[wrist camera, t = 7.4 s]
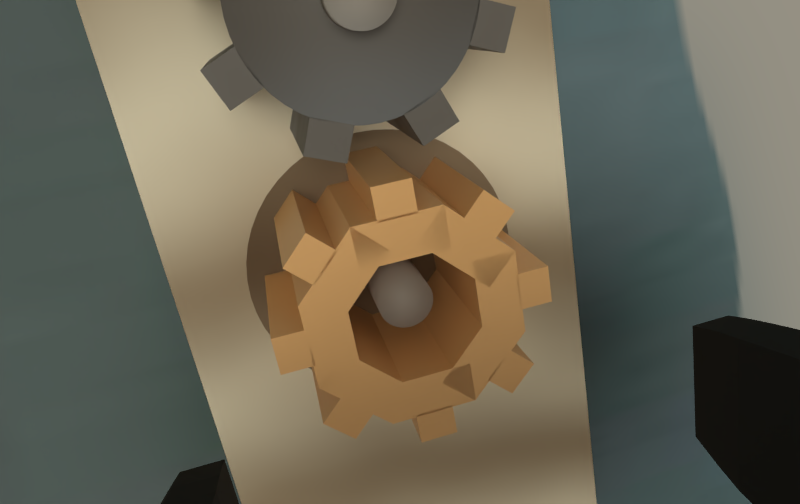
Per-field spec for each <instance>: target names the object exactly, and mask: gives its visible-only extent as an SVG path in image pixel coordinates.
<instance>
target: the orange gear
mask: <svg viewBox="0 0 800 504" xmlns="http://www.w3.org/2000/svg"><path fill="white" fill-rule="evenodd" d="M345 165H346V170H347V174H348V179H349V181H345V182H341V183H336V184H332V185H328V186H327V187H326V189H325V190H324V192H323V193H322V195H321V196H320V198H319V200H318V201H317V203H314V202H312V201H310V200H309V199H307V198H305V197H304V196H302V195H300V194H299V193H297V192H295V191H294V190H291V192H290V193H289V195H288V197H287V198H286V200H285V201H284V203H283V204H282V206H281V208H280V209H279V211H278V212H277V214H276V215H275V217H274V222H275V228H276V234H277V239H278V245H279V251H280V257H281V263H282V268H283V269H284V270H286V271H282V272H278V273H274V274H270V275H266V276H265V286H266V296H267V306H268V317H269V327H270V337H271V342H272V346H273V349H274V353H275V356H276V360H277V364H278V367H279V371H280V374H281V375H283V374H287V373H290V372H294V371H298V370H301V369H305V368H309V367H312V372H313V377H314V382H315V386H316V391H317V396H318V401H319V406H320V411H321V415H322V420H323V424H325V425H327V426H329V427H331V428H333V429H335V430H338V431H340V432H342V433H344V434H346V435H348V436H351V437H353V438H355V439H356V438H357V437H358V435H359V434H360V432H361V431H362V429H363V428H364V427H365V425H366V424H367V422H368V421H369V419H370V418H371V417H372V415H375V416H378V417H380V418H382V419H384V420H386V421H388V422H390V423H392V424H395V423H398V422H402V421H405V420H409V419H412V421H413V424H414V426H415V428H416V431H417V433H418V435H419V437H420V440H421V442H426V441H429V440H432V439H436V438H439V437H443V436H446V435H449V434H453V433H456V432H457V427H456V422H455V416H454V411H453V406H457V405H460V404H464V403H467V402H471V401H474V400H476V399H477V398H478V396H479V395H480V393H481V392H482V391H483V389H484V388H485V386H486V385H487V384H488V382H489V381H490V382H492V383H494V384H496V385H498V386H499V387H501V388H503V389H505V390H507V391H509V392H510V393H513V392H514V391H515V389H516V388H517V386H518V385H519V384H520V382H521V381H522V380H523V378H524V377H525V375H526V374H527V373H528V371H529V370H530V369H531V367H532V366H533V365H534V363H533V362H532V361H531V360H530V359H529V357H528V356H527V355H526V354H525V353H524V352H523V351H522V349H521V348H520V347H519V346H518V345H517V342H518V341H519V339H520V338H521V337H522V335H523V334H524V332H525V324H524V316H523V309H526V308H529V307H533V306H537V305H541V304H544V303H548V302H552V297H551V288H550V279H549V270H548V266H547V265H546V264H545V263H543V262H542V261H541V260H540V259H538V258H537V257H536V256H534V255H533V254H532V253H531V252H529V251H528V250H527V249H526V248H524V247H523V246H522V245H520V244H519V243H518V242H517V241H515V240H514V239H513V238H512V237H510V236H509V235H508V234H506V233H505V232H504V231H503V230H502V229H503V227H504V226H505V224H506V223H507V221H508V220H509V219H510V217H511V216H512V214H513V213H514V211H515V210H513V209H512V208H510V207H509V206H507V205H506V204H504V203H503V202H501V201H500V200H498V199H497V198H495V197H494V196H492V195H491V194H490V193H488V192H487V191H485V190H484V189H482V188H481V187H479V186H478V185H476V184H475V183H473V182H472V181H470V180H469V179H467V178H466V177H464V176H463V175H461V174H460V173H459V172H457V171H456V170H454V169H453V168H451V167H450V166H448V165H447V164H445V163H444V162H442V161H441V160H439V159H438V158H436V157H434V158H433V160H432V161H431V163H430V164H429V166H428V167H427V169H426V170H425V172H424V173H423V175H422V176H421V178H420V179H418V178H417V177H415V176H414V175H412V174H411V173H409V172H408V171H406V170H405V169H403V168H400V167H399V166H398V165H397V164H396V163H395V162H394V161H393V160H392V159H390V158H389V157H388V156H387V155H386V154H385V153H384V152H383V151H381V150H380V149H379V148H378V147H377V146H375V147H370V148H366V149H361V150H357V151H353V152H349V158H348V163H347V164H346V163H345ZM430 253H433V254H434V259H435V265H436V270H435V272H434V273H433V275H432V276H431V278H430V279H429V280H428V282H427V283H428V285H429V286H430V288H431V290H432V293H433V305H432V308H431V311H430V312H429V314H428V315H427V317H426V318H425V319H424V320H423V321H421V322H420V323H418V324H417V325H414V326H411V327H406V328H400V327H395V326H393V325H391V324H389V323H387V322H386V321H385V320H384V319H383V317H382V316H381V314H380V312H379V313H375V314H370V313H368V312H367V311H365V310H363V309H361V308H359V307H357V306H356V305H354V303H355V301H356V300H357V298H358V297H359V295H360V294H361V292H362V291H363V289H364V288H365V286H366V285H367V283H368V282H369V280H370V279H371V277H372V276H373V274H374V273H375V271H376V270H377V268H378V267H379V266H383V265H387V264H391V263H395V262H399V261H403V260H407V259H411V258H415V257H419V256H423V255H426V254H430Z"/></svg>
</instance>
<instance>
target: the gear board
mask: <svg viewBox="0 0 800 504" xmlns="http://www.w3.org/2000/svg"><path fill="white" fill-rule="evenodd" d="M76 3H77V6H78V9H79V12H80V15H81V18H82V21H83V24H84V27H85V30H86V33H87V36H88V39H89V42H90V45H91V48H92V51H93V54H94V57H95V60H96V63H97V66H98V69H99V72H100V75H101V79H102V82H103V85H104V88H105V91H106V94H107V97H108V100H109V103H110V106H111V109H112V112H113V115H114V118H115V121H116V124H117V127H118V130H119V133H120V136H121V139H122V142H123V145H124V148H125V151H126V154H127V157H128V160H129V163H130V166H131V169H132V173H133V176H134V179H135V182H136V185H137V188H138V191H139V194H140V197H141V200H142V203H143V206H144V209H145V212H146V215H147V218H148V221H149V224H150V227H151V230H152V233H153V236H154V239H155V242H156V245H157V248H158V251H159V254H160V257H161V260H162V263H163V266H164V270H165V273H166V276H167V279H168V282H169V285H170V288H171V291H172V294H173V297H174V300H175V303H176V306H177V309H178V312H179V315H180V318H181V321H182V324H183V327H184V330H185V333H186V336H187V339H188V342H189V345H190V348H191V351H192V354H193V357H194V360H195V364H196V367H197V370H198V373H199V376H200V379H201V382H202V385H203V388H204V391H205V394H206V397H207V400H208V403H209V406H210V409H211V412H212V415H213V418H214V421H215V424H216V427H217V430H218V433H219V436H220V439H221V442H222V445H223V448H224V451H225V454H226V457H227V461H228V464H229V467H230V470H231V473H232V476H233V479H234V482H235V485H236V488H237V491H238V494H239V497H240V500H241V503H242V504H597V502H596V492H595V481H594V470H593V460H592V449H591V438H590V428H589V417H588V407H587V396H586V385H585V375H584V364H583V354H582V343H581V332H580V322H579V311H578V300H577V290H576V279H575V269H574V258H573V247H572V237H571V226H570V215H569V205H568V194H567V184H566V173H565V162H564V152H563V141H562V131H561V120H560V109H559V99H558V88H557V77H556V67H555V56H554V46H553V35H552V24H551V14H550V3H549V0H76ZM375 146H377V147H378V148H379V149H380V150H381V151H383V152H384V153H385V154H386V155H387V156H388V157H389V158H390V159H392V160H393V161H394V162H395V163H396V164H397V165H398V166H399V167H400V168H403V169H405V170H406V171H408V172H409V173H411V174H412V175H414V176H415V177H417V178H418V179H420V178H421V176H422V175H423V173H424V172H425V170H426V169H427V167H428V166H429V164H430V163H431V161H432V160H433V158H434V157H436V158H438V159H439V160H441V161H442V162H444V163H445V164H447V165H448V166H450V167H451V168H453V169H454V170H456V171H457V172H459V173H460V174H461V175H463V176H464V177H466V178H467V179H469V180H470V181H472V182H473V183H475V184H476V185H478V186H479V187H481V188H482V189H484V190H485V191H487V192H488V193H490V194H491V195H492V196H494V197H495V198H497V199H498V200H500V201H501V202H503V203H504V204H506V205H507V206H509V207H510V208H512V209H513V210H515V211H514V213H513V214H512V216H511V217H510V219H509V220H508V221H507V223H506V224H505V226H504V227H503V229H502V230H503V231H504V232H505V233H506V234H508V235H509V236H510V237H512V238H513V239H514V240H515V241H517V242H518V243H519V244H520V245H522V246H523V247H524V248H526V249H527V250H528V251H529V252H531V253H532V254H533V255H534V256H536V257H537V258H538V259H540V260H541V261H542V262H543V263H545V264H546V265H547V266H548V270H549V279H550V288H551V297H552V302H548V303H544V304H541V305H537V306H533V307H529V308H526V309H523V316H524V324H525V332H524V334H523V335H522V337H521V338H520V339H519V341H518V342H517V345H518V346H519V347H520V348H521V349H522V351H523V352H524V353H525V354H526V355H527V356H528V357H529V359H530V360H531V361H532V362H533V363H534V365H533V366H532V367H531V369H530V370H529V371H528V373H527V374H526V375H525V377H524V378H523V380H522V381H521V382H520V384H519V385H518V386H517V388H516V389H515V391H514V392H513V393H510V392H509V391H507V390H505V389H503V388H501V387H499V386H498V385H496V384H494V383H492V382H490V381H489V382H488V384H487V385H486V386H485V388H484V389H483V391H482V392H481V393H480V395H479V396H478V398H477V399H476V400H474V401H471V402H467V403H464V404H460V405H457V406H453V411H454V416H455V422H456V427H457V432H456V433H453V434H449V435H446V436H443V437H439V438H436V439H432V440H429V441H426V442H421V440H420V437H419V435H418V433H417V431H416V428H415V426H414V424H413V421H412V419H409V420H405V421H402V422H398V423H395V424H392V423H390V422H388V421H386V420H384V419H382V418H380V417H378V416H375V415H372V417H371V418H370V419H369V421H368V422H367V424H366V425H365V427H364V428H363V429H362V431H361V432H360V434H359V435H358V437H357V438H356V439H355V438H353V437H351V436H348V435H346V434H344V433H342V432H340V431H338V430H335V429H333V428H331V427H329V426H327V425H325V424H323V420H322V415H321V411H320V406H319V401H318V396H317V391H316V386H315V382H314V377H313V372H312V367H309V368H305V369H301V370H298V371H294V372H290V373H287V374H283V375H281V374H280V371H279V367H278V364H277V360H276V356H275V353H274V349H273V346H272V342H271V337H270V327H269V317H268V306H267V296H266V286H265V276H266V275H270V274H274V273H278V272H282V271H286V270H284V269H283V268H282V263H281V257H280V251H279V245H278V239H277V234H276V228H275V222H274V217H275V215H276V214H277V212H278V211H279V209H280V208H281V206H282V204H283V203H284V201H285V200H286V198H287V197H288V195H289V193H290V192H291V190H294V191H295V192H297V193H299V194H300V195H302V196H304V197H305V198H307V199H309V200H310V201H312V202H314V203H317V201H318V200H319V198H320V196H321V195H322V193H323V192H324V190H325V189H326V187H327V186H328V185H332V184H336V183H341V182H345V181H349V179H348V174H347V170H346V165H345V163H346V164H347V163H348V158H349V152H353V151H357V150H361V149H366V148H370V147H375ZM435 270H436V265H435V259H434V254H433V253H430V254H426V255H423V256H419V257H415V258H411V259H407V260H403V261H399V262H395V263H391V264H387V265H383V266H379V267H378V268H377V270H376V271H375V273H374V274H373V276H372V277H371V279H370V280H369V282H368V283H367V285H366V286H365V288H364V289H363V291H362V292H361V294H360V295H359V297H358V298H357V300H356V301H355V303H354V305H356V306H357V307H359V308H361V309H363V310H365V311H367V312H368V313H370V314H375V313H379V312H380V314H381V316H382V317H383V319H384V320H385V321H386V322H387V323H389V324H391V325H393V326H395V327H400V328H406V327H411V326H414V325H417V324H418V323H420V322H421V321H423V320H424V319H425V318H426V317H427V315H428V314H429V312H430V311H431V308H432V305H433V293H432V290H431V288H430V286H429V285H428V283H427V282H428V280H429V279H430V278H431V276H432V275H433V273H434V272H435Z"/></svg>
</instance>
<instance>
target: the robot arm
mask: <svg viewBox="0 0 800 504" xmlns="http://www.w3.org/2000/svg"><path fill="white" fill-rule="evenodd" d="M693 354H694V391H695V427H696V437H697V439H698V440H699V441H700V443H701V444H702V445H703V446H704V448H705V449H706V450H707V452H708V453H709V454H710V455H711V457H712V458H713V459H714V461H715V462H716V463H717V464H718V466H719V467H720V468H721V469H722V471H723V472H724V473H725V474H726V475H727V477H728V478H729V479H730V480H731V481H732V483H733V484H734V485H735V486H736V487H737V488H738V490H739V491H740V492H741V493H742V494H743V495H744V496H745V497H746V498H747V499H748V500H749V501H750V502H751V503H752V504H800V330H797V329H793V328H789V327H785V326H780V325H776V324H771V323H767V322H762V321H757V320H752V319H747V318H740V317H734V316H725V317H722V318H718V319H715V320H711V321H708V322H704V323H701V324H697V325H694V326H693ZM161 504H239V503H238V500H237V497H236V494H235V491H234V487H233V484H232V481H231V478H230V475H229V472H228V469H227V466H226V463H225V460H221V461H217V462H214V463H210V464H207V465H203V466H200V467H196V468H193V469H189V470H186V471H182V472H180V473H179V474H178V476H177V478H176V479H175V481H174V482H173V484H172V486H171V487H170V489H169V491H168V492H167V494H166V496H165V497H164V499H163V501H162V503H161Z"/></svg>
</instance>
